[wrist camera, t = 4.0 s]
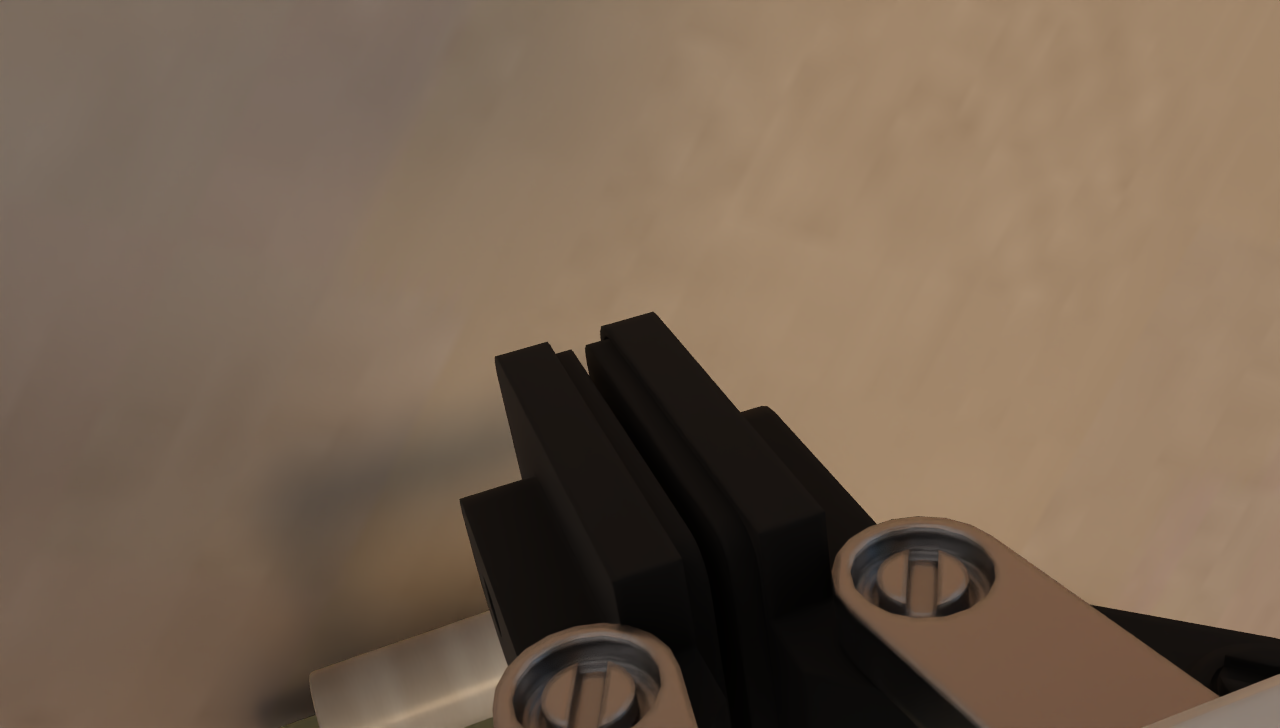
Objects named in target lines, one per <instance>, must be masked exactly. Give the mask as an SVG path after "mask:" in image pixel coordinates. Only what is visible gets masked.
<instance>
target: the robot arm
mask: <svg viewBox="0 0 1280 728" xmlns="http://www.w3.org/2000/svg"><path fill="white" fill-rule="evenodd" d="M600 336H601V341H599V342H595V343H592V344H588V345H586V347H585V353H586V360H587V366H588V371H589V375H588V374H587V372H586V370H585V369H584V367H583V366H582V364H581V363H580V361H579V360H578V358H577V357H576V355H575V354H574V352H573V351H572V350H568V351H564V352H561V353H557V354H555V352H554V351H553V349H552V347H551V346H550V344H549V343H548V342H545V343H541V344H538V345H534V346H531V347H527V348H524V349H520V350H516V351H513V352H509V353H506V354H502V355H499V356H495V365H496V371H497V376H498V380H499V384H500V389H501V393H502V397H503V401H504V405H505V410H506V414H507V418H508V422H509V426H510V431H511V435H512V439H513V443H514V448H515V452H516V456H517V460H518V464H519V469H520V473H521V477H522V480H520V481H516V482H513V483H510V484H507V485H503V486H500V487H497V488H494V489H490V490H487V491H484V492H481V493H477V494H474V495H471V496H468V497H464V498H461V499H460V505H461V509H462V514H463V518H464V521H465V525H466V529H467V533H468V536H469V540H470V544H471V547H472V551H473V555H474V559H475V562H476V566H477V569H478V573H479V577H480V580H481V584H482V587H483V590H484V594H485V597H486V601H487V604H488V607H489V610H490V614H491V617H492V620H493V623H494V626H495V630H496V633H497V636H498V639H499V642H500V645H501V648H502V651H503V654H504V656H505V659H506V662H507V665H508V667H507V668H506V669H505V671H504V673H503V675H502V677H501V679H500V680H499V682H498V684H497V686H496V688H495V693H494V701H493V708H492V713H493V724H494V728H1280V639H1277V638H1272V637H1266V636H1261V635H1255V634H1250V633H1244V632H1239V631H1233V630H1227V629H1222V628H1216V627H1211V626H1205V625H1200V624H1194V623H1189V622H1183V621H1178V620H1172V619H1166V618H1161V617H1155V616H1150V615H1144V614H1139V613H1133V612H1128V611H1122V610H1116V609H1111V608H1105V607H1100V606H1094V605H1089V604H1088V603H1086V602H1085V601H1084V600H1082V599H1081V598H1079V597H1078V596H1077V595H1075V594H1074V593H1072V592H1071V591H1069V590H1068V589H1067V588H1065V587H1064V586H1062V585H1061V584H1060V583H1058V582H1057V581H1055V580H1054V579H1052V578H1051V577H1050V576H1048V575H1047V574H1045V573H1044V572H1043V571H1041V570H1040V569H1038V568H1037V567H1035V566H1034V565H1033V564H1031V563H1030V562H1028V561H1027V560H1026V559H1024V558H1023V557H1021V556H1020V555H1018V554H1017V553H1016V552H1014V551H1013V550H1011V549H1010V548H1009V547H1007V546H1006V545H1004V544H1003V543H1001V542H1000V541H999V540H997V539H996V538H994V537H993V536H991V535H989V534H987V533H986V532H984V531H982V530H980V529H978V528H976V527H974V526H972V525H970V524H966V523H962V522H958V521H955V520H951V519H947V518H937V517H922V516H916V517H908V518H899V519H891V520H888V521H885V522H882V523H879V524H876V523H875V522H874V521H873V519H872V518H871V517H870V516H869V515H868V514H867V513H866V512H865V511H864V510H863V508H862V507H861V506H860V505H859V504H858V503H857V502H856V501H855V500H854V499H853V497H852V496H851V495H850V494H849V493H848V492H847V491H846V490H845V489H844V488H843V486H842V485H841V484H840V483H839V482H838V481H837V480H836V479H835V478H834V477H833V475H832V474H831V473H830V472H829V471H828V470H827V469H826V468H825V467H824V466H823V465H822V463H821V462H820V461H819V460H818V459H817V458H816V457H815V456H814V455H813V454H812V452H811V451H810V450H809V449H808V448H807V447H806V446H805V445H804V444H803V443H802V441H801V440H800V439H799V438H798V437H797V436H796V435H795V434H794V433H793V432H792V430H791V429H790V428H789V427H788V426H787V425H786V424H785V423H784V422H783V421H782V419H781V418H780V417H779V416H778V415H777V414H776V413H775V412H774V411H773V410H771V409H770V408H769V407H768V406H760V407H757V408H753V409H750V410H747V411H744V412H740V411H739V410H738V409H737V408H736V407H735V406H734V404H733V403H732V402H731V401H730V400H729V399H728V397H727V396H726V395H725V394H724V393H723V392H722V390H721V389H720V388H719V387H718V386H717V385H716V383H715V382H714V381H713V380H712V379H711V378H710V376H709V375H708V374H707V373H706V372H705V370H704V369H703V368H702V367H701V366H700V365H699V363H698V362H697V361H696V360H695V359H694V358H693V356H692V355H691V354H690V353H689V352H688V351H687V349H686V348H685V347H684V346H683V345H682V344H681V342H680V341H679V340H678V339H677V338H676V337H675V335H674V334H673V333H672V332H671V331H670V330H669V328H668V327H667V326H666V325H665V324H664V323H663V321H662V320H661V319H660V318H659V317H658V316H657V315H656V314H655V313H654V312H650V313H647V314H643V315H640V316H636V317H633V318H629V319H626V320H622V321H619V322H615V323H612V324H608V325H604V326H601V330H600ZM589 376H590V377H589Z"/></svg>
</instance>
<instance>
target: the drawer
mask: <svg viewBox="0 0 1280 728" xmlns="http://www.w3.org/2000/svg"><path fill="white" fill-rule="evenodd" d="M507 667H508V665H507V662H506V659H505V656H504V654H503V651H502V648H501V645H500V642H499V639H498V636H497V633H496V630H495V626H494V623H493V620H492V617H491V614H490V610H489V611H486V612H483V613H480V614H477V615H475V616H472V617H469V618H466V619H463V620H460V621H457V622H454V623H451V624H448V625H445V626H443V627H440V628H437V629H434V630H431V631H428V632H425V633H422V634H419V635H416V636H414V637H411V638H408V639H405V640H402V641H399V642H396V643H393V644H390V645H387V646H384V647H382V648H379V649H376V650H373V651H370V652H367V653H364V654H361V655H358V656H355V657H353V658H350V659H347V660H344V661H341V662H338V663H335V664H332V665H329V666H326V667H323V668H321V669H318V670H315V671H312V672H311V673H310V676H309V684H310V690H311V696H312V700H313V705H314V709H315V713H316V715H314V716H311V717H308V718H305V719H302V720H300V721H297V722H294V723H291V724H288V725H285V726H283V727H280V728H494V724H493V713H492V708H493V701H494V693H495V688H496V686H497V684H498V682H499V680H500V679H501V677H502V675H503V673H504V671H505V669H506V668H507Z"/></svg>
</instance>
